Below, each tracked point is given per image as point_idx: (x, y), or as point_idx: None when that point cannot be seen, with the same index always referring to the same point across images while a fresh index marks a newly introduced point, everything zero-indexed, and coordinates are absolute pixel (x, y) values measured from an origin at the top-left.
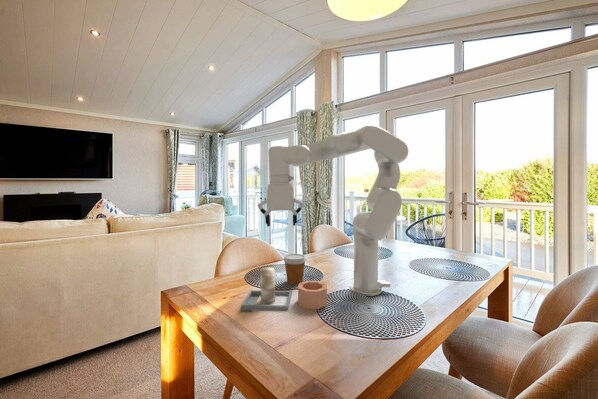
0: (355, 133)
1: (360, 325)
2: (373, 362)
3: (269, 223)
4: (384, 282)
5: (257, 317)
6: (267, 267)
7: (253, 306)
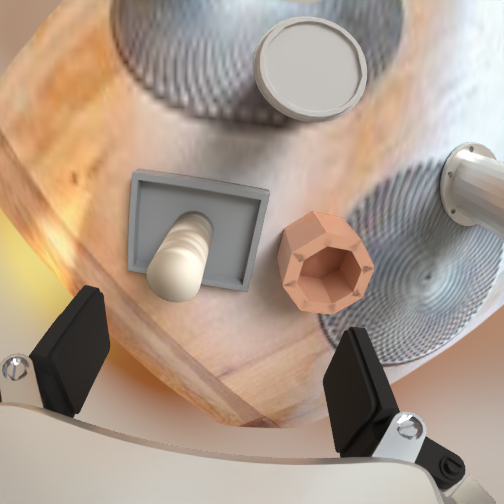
0: None
1: (376, 335)
2: None
3: (99, 346)
4: None
5: None
6: (170, 255)
7: None
